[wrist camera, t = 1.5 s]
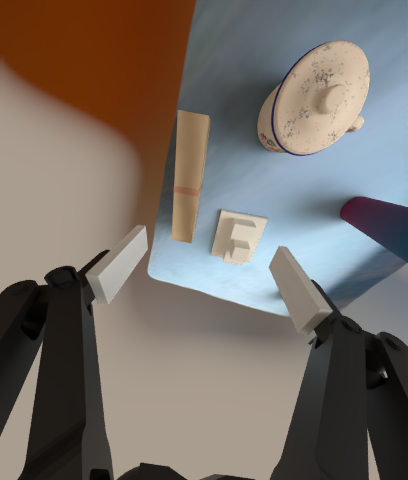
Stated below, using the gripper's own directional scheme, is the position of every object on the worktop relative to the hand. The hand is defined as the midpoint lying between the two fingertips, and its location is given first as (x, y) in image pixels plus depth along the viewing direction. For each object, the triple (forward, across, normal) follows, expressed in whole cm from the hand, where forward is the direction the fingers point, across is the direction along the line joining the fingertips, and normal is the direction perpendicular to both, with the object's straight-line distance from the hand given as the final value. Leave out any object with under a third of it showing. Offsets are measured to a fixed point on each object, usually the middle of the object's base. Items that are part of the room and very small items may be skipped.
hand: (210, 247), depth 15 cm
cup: (+18, +28, +2) cm, 34 cm away
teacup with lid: (+18, +11, +14) cm, 25 cm away
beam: (+18, -5, +2) cm, 19 cm away
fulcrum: (+18, +7, -8) cm, 21 cm away
